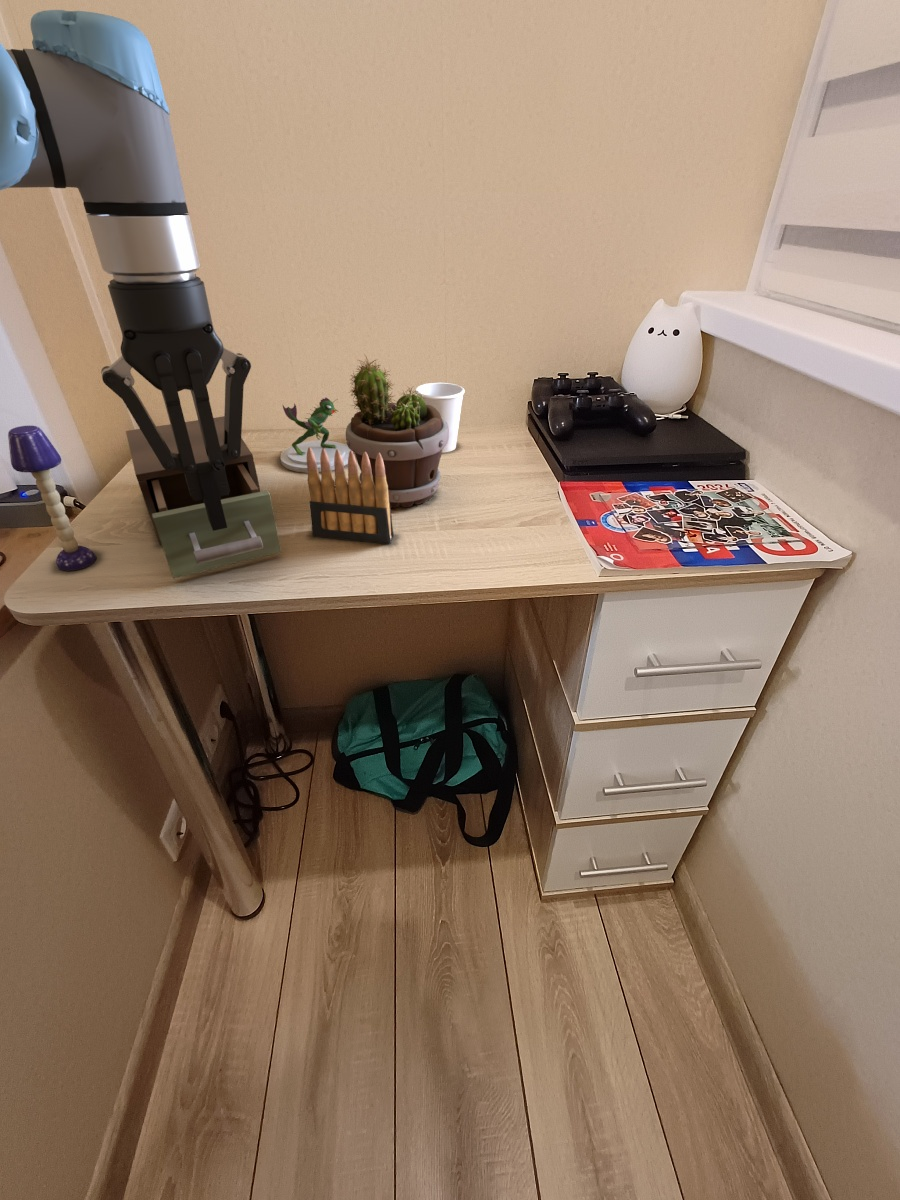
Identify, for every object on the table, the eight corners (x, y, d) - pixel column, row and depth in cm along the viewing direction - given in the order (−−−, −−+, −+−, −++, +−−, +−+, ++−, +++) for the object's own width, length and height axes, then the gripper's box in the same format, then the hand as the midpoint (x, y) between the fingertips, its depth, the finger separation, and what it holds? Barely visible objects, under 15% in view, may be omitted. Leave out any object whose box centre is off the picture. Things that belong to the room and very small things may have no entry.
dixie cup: (443, 459, 97) (443, 400, 91) (406, 447, 101) (404, 390, 95) (472, 445, 102) (474, 388, 96) (437, 434, 106) (436, 379, 101)
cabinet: (266, 521, 79) (252, 453, 73) (159, 545, 74) (135, 474, 68) (240, 476, 91) (226, 415, 85) (147, 494, 86) (125, 430, 80)
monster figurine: (345, 473, 92) (338, 409, 86) (272, 472, 93) (260, 408, 87) (358, 445, 102) (352, 387, 96) (291, 444, 102) (282, 385, 96)
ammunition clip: (394, 537, 76) (388, 450, 69) (390, 544, 74) (384, 456, 67) (317, 529, 77) (304, 443, 70) (312, 536, 76) (298, 449, 69)
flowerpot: (455, 475, 92) (456, 342, 80) (439, 520, 79) (438, 371, 68) (367, 470, 93) (356, 338, 82) (339, 513, 81) (320, 365, 69)
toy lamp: (88, 547, 73) (33, 418, 63) (109, 558, 71) (55, 426, 61) (50, 564, 70) (-14, 431, 60) (71, 576, 68) (8, 440, 58)
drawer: (294, 575, 67) (283, 515, 62) (180, 605, 62) (158, 542, 57) (252, 501, 82) (241, 448, 77) (158, 521, 77) (139, 466, 72)
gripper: (226, 267, 53) (269, 498, 67) (66, 274, 48) (149, 522, 62) (243, 277, 48) (286, 525, 62) (66, 285, 43) (156, 554, 57)
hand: (217, 523), depth 62 cm, fingers closed
